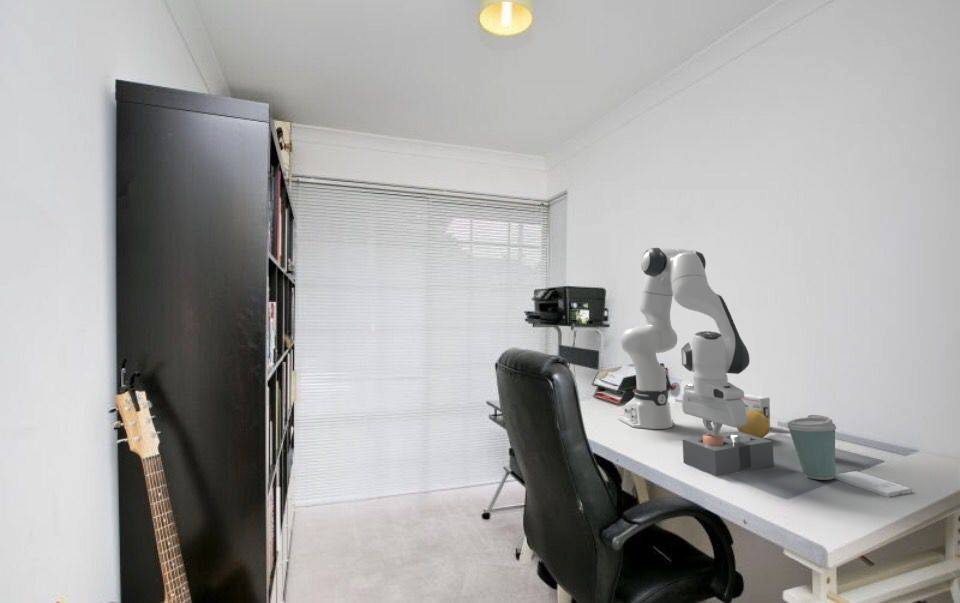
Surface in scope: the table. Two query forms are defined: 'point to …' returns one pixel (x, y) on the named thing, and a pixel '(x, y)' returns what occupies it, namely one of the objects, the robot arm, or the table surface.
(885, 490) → the external hard drive
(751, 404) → the ink box
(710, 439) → the terracotta button
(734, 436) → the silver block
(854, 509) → the table surface
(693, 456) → the block
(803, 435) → the disposable coffee cup
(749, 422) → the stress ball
